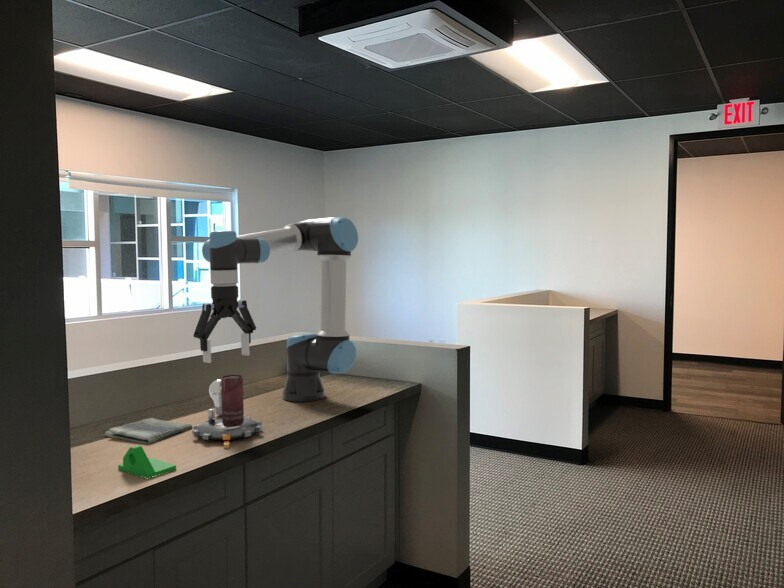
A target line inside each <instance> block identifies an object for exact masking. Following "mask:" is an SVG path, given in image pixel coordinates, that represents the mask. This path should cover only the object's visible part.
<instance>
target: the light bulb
mask: <svg viewBox="0 0 784 588" xmlns="http://www.w3.org/2000/svg"><path fill="white" fill-rule="evenodd" d="M221 380H222V378H218V379H215V380H214V381H213V382H211V383H210V385H209V388H208V394H209V396H210V398H211V399H212V401H213V405H214V409H215V415H217V416H219V417H222V388H221Z"/></svg>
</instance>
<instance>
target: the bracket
mask: <svg viewBox="0 0 784 588" xmlns="http://www.w3.org/2000/svg"><path fill="white" fill-rule="evenodd" d="M117 465H118V466H117V468H118V470H120V471H123V472H126V473H128V472H129V473H128V474H130V473H132V474H131V475H133V474H135V475H134V476H136V475H138V476H137V477H139V476H142V477H146V478H149V477H152V476H155V475H159V474H162V473H165V474H167V473H166V472H168V473H170V472H169V471H171V472H173V471H172V470H174V471H176V470H177V465H176V464H172V463H170V462H166V461H164V460H160V459H157V458H154V457H153V458H149V457H148V456H147V454H146V452H145V450H144V448H143V446H142V445H140V444H138V445H134V446H131V447H129V448H128V450H127V451H126V453H125V454H124V455H123V458H122V463H120V464H117ZM162 475H163V474H162ZM159 476H160V475H159ZM142 477H141V478H142Z"/></svg>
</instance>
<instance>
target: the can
mask: <svg viewBox="0 0 784 588" xmlns="http://www.w3.org/2000/svg"><path fill="white" fill-rule="evenodd" d="M221 379H222V380H221V388H222V416H221V419H222V423H223V425H225V426H238V425H241V424H242V423H243V422H244V418H245V416H244V415H245V414H244V413H245V412H244V410H245V409H244V379H243V377H242V375H239V374H229V375H228V374H227V375H224V376H222V378H221Z"/></svg>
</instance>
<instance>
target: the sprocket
mask: <svg viewBox="0 0 784 588" xmlns="http://www.w3.org/2000/svg"><path fill="white" fill-rule="evenodd" d="M262 423H263V422H262V421H261V420H254V419H252V418H251V417H245V416H244V422H243V423H242V424H241V425H238V426H225V425H223V423H222V418H219V419H218V418H217V419H216V413H215V408H209V409H207V420H205V422H203V423H200V424H199V423H197V424H195V425H193V429H192V432H191V433H192V436H193V437H197V436H198V437H202V440H207V441H208V440H211V439H223V440H226V441H231V440H230V438H236V437H242V436H243V438H246V437H251V436H252V434H253V433H255V432H256V433H257V432H258V433H259V432H262V429H263V424H262Z"/></svg>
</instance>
